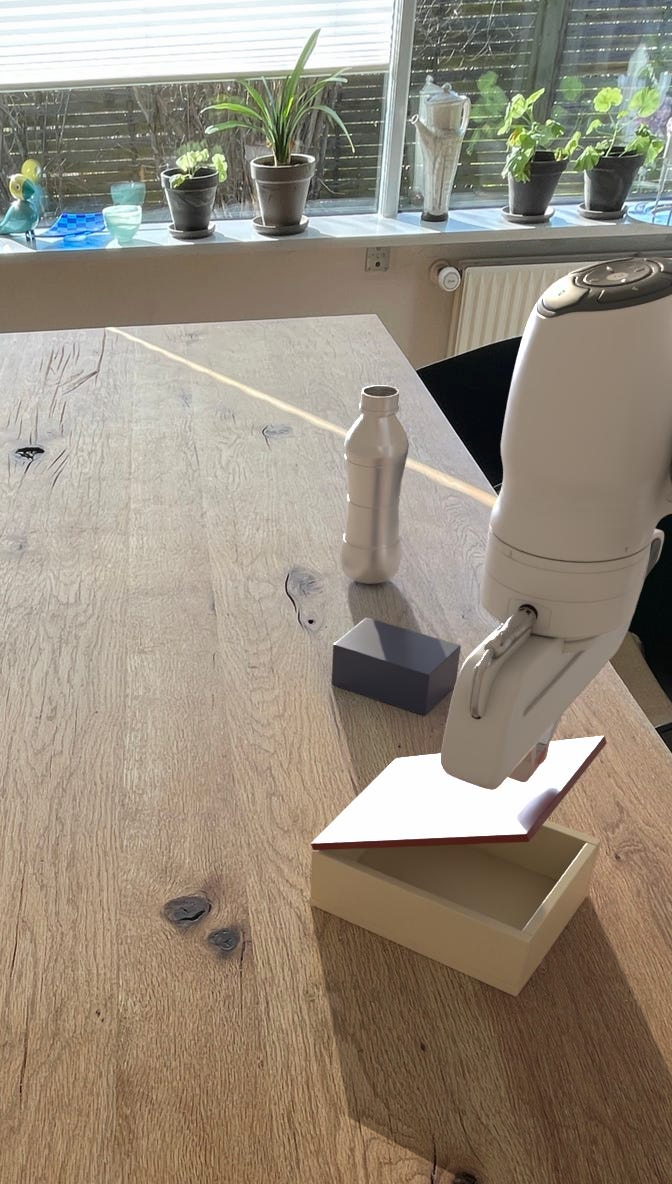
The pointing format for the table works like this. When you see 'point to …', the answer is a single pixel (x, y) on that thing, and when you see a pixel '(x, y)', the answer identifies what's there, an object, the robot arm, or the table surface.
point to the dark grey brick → (395, 665)
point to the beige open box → (464, 898)
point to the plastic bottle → (374, 488)
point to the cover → (456, 803)
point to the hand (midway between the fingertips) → (523, 769)
